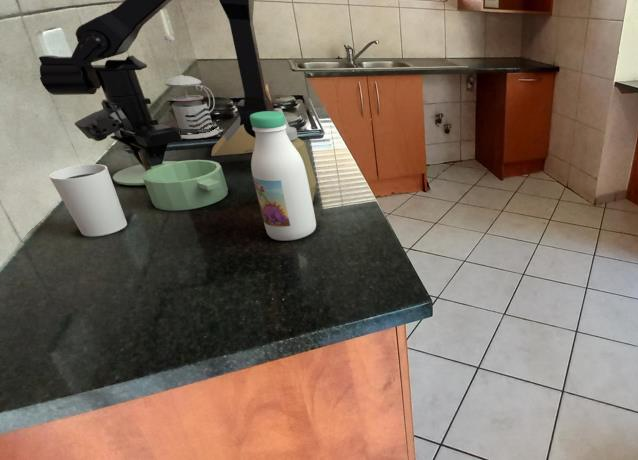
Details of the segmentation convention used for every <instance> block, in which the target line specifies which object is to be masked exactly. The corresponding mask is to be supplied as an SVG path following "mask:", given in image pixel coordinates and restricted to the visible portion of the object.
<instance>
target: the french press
mask: <svg viewBox="0 0 638 460" xmlns="http://www.w3.org/2000/svg"><path fill="white" fill-rule="evenodd" d="M175 39H176V38H175V37H174V36H173V35H171V34H167V35H165V36H164V40H165V41H168V42H169V43H170V47H171V48H172V52H173V55H174V59H175V62H176V66H177V69H178V72H179V75H176V76H175V75H174V76H171V77H170V78H168V79H166V80H164V82H163V84H164V85H165V86H166V87H175V88H178V87H179V88H182V87H183V88H184V89H183V90H184V92H185V94H184V95H177V96H172V97H171V98H170V99H171V102H173V103H171V107H172V110H173V113H174V117H175V120H176V122H177V125H178V126H177V127H178V129H179V128H181V129H200V128H201V127H203V126H204V125H206V124H208V126H207V127H205V128H204V129H209V128H211V127H212V126H213V127H214V124H213V121H212V117H211V113H212V112H213V110H214V109H215V105H216V100H215V97H214V93H213V92H212V90H211V89H210V88H208V87H207V86H205V85H201V84H202V80H201V79H199V78H197V77H196V78H195V77H193V76H191V75H183V74H182V72H181V70H180V67H179V63H178V59H177V56H176V53H175V49H174V47H173V44H172V41H175ZM194 86H195V88H196V90H197V91H198V92H202V91H203V90H204V91H205V93H206V94H207V98H208V103H207V102H206V101H203V102H202V100H204V98H205V97H204V96H203V95H201V94H188V92H187V89H186V87H194ZM198 87H200V89H198ZM207 90H208V91H207ZM209 93H210V94H211V96H212V100H213V106H212V108H211V109H210V107H211V98H210V95H209ZM209 109H210V110H209ZM196 124H201V125H200V126H197V127H194V128H193V127H189V125H196ZM210 124H212V125H210ZM202 130H203V129H202ZM219 133H220V131H219V129H217V128H215V129H214V130H212V131H210V132H206V133H199V134H188V135H181V138H182V139H186V140H190V139H191V140H193V139H202V138H204V139H205V138H209V137H214V136H216V135H218V134H219Z"/></svg>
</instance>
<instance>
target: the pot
mask: <svg viewBox="0 0 638 460" xmlns="http://www.w3.org/2000/svg"><path fill="white" fill-rule="evenodd" d="M142 177H143V180H144V183H145V185H144V186H145V188H146V190H147V193H148V196H149V197H150V201H151V203H152V205H153V207H154V208H156V209H159V210H163V211H173V212H174V211H189V210H194V209H199V208H203V207H207V206H210V205H213V204H215V203H217V202H220V201H221V200H223V199H225V197H227V196H228V194H229V188H228V185H227V181H226V178H225V174H224V171H223V168H222V165H221V164H220V162H217V161H214V160H208V159H188V160H187V159H186V160H180V161H177V162H173V163H168V164H160V165H156V166H153V167H151V169H150V170H147V171H146V172H145V173H144V174H143V175H142Z"/></svg>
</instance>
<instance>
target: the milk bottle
mask: <svg viewBox="0 0 638 460" xmlns="http://www.w3.org/2000/svg"><path fill="white" fill-rule="evenodd" d="M283 113H284V112H283ZM283 113H281V112H276V111H264V112H257V113H254V114H251V115H250V121H251V125H252V127H253V128H252V129H253V130H254V131H255V134H256V141H255V148H254V152H252V155H251V160H250V167H251V168H250V169H251V175H252V180H253V184H254V188H255V193H256V196H257V201H258V204H259V208H260V212H261V216H262V220H263V224H264V228H265V231H266V234H267V236H269V238H270V239H273V240H275V241H281V242H283V241H284V242H285V241H296V240H299V239H302V238H306V237H307V236H309V235H311V234H313V233H314V232H315V230H316V228H317V220H316V216H315V210H314V205H313V204H314V203H313V201H312V199H311V193H310V188H309V183H308V178H307V174H306V170H305V166H304V163H303V160H302V158H301V156H300V154H299V153H298V151H297V150H296V148H295V147H294V146H293V144H292V143H291V141H290V140H289V138H288V136H287V134H286V130H285V128H286V127H287V126H286V124H285V123H286V122H285V118H286V116H285V114H283ZM284 116H285V117H284Z"/></svg>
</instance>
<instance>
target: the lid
mask: <svg viewBox="0 0 638 460" xmlns="http://www.w3.org/2000/svg"><path fill="white" fill-rule="evenodd" d="M138 154H139V156H140V159H141V161H142V164H143V166H142V165H141V164H140V163H139V164H136V165H133V166H129V167H126V168H123V169H121V170H119V171H117V172H115V173H113V175H112V181H114V182H115V184H119V185H125V186H146V185H145V183H144V180H143V177H142V175H143V174H144V173H145V172H146V171H147V170H150V169H151V166H150V164H149V162H148V160H147V159H146V157H145V155H144V153H143V151H142V150H140V151H138ZM173 162H178V161H175V160H167V161H166V160H163V163H162V164H168V163H173ZM143 167H144V168H143Z"/></svg>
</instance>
